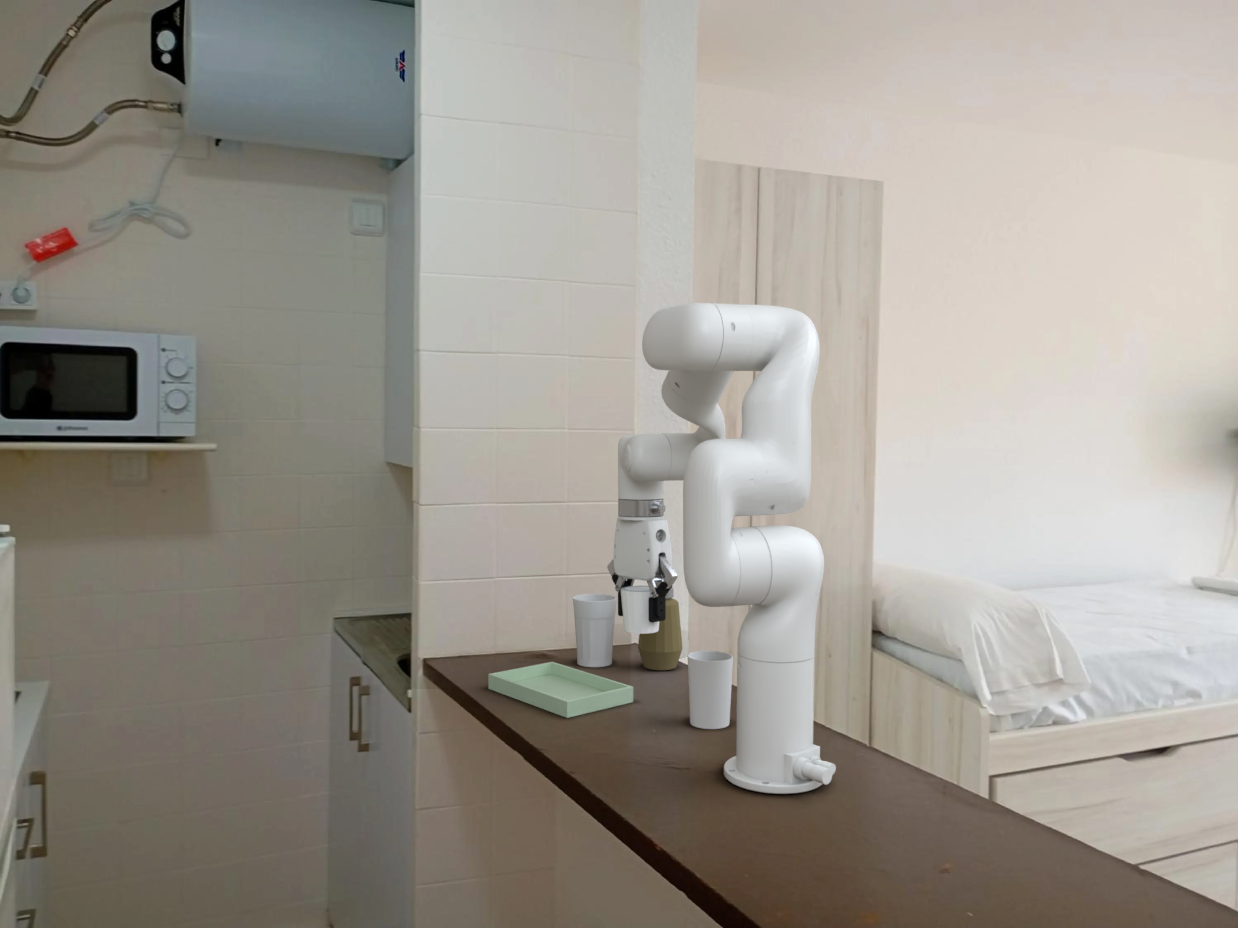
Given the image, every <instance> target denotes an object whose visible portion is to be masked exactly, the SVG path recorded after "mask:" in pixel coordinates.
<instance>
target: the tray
mask: <svg viewBox="0 0 1238 928" xmlns="http://www.w3.org/2000/svg"><path fill="white" fill-rule="evenodd" d="M487 676H488V678H487V680H488V682H487V683H488V690H490V691H493V692H495V693H498V694H501V695H504V696H507V697H510V698H513V699H515V700H517V701H520V702H523V703H526V704H528V705H531V706H534V707H537V708H539V709H542V710H545V711H547V712H550V713H553V714H555V715H557V716H560V717H563V718H567V719H569V718H573V717H577V716H582V715H586V714H590V713H593V712H598V711H603V710H607V709H610V708H614V707H619V706H623V705H627V704H631V703H634V686H633V685H629V684H625V683H622V682H619V681H616V680H614V679H609V678H606V677H603V676H601V675H597V674H593V673H590V672H587V671H584V670H581V669H577V668H574V667H572V666H568V665H564V664H560V663H557V662H555V661H548V662H544V663H537V664H532V665H528V666H523V667H518V668H513V669H507V670H502V671H497V672H492V673H488V674H487Z"/></svg>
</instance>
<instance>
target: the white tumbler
mask: <svg viewBox="0 0 1238 928" xmlns="http://www.w3.org/2000/svg"><path fill="white" fill-rule="evenodd" d="M733 665H734V656H733V655H732V654H731V653H728V652H725V651H719V650H718V651H717V650H699V651H698V650H697V651H692V652H689V653H688V654H687V675H688V676H687V677H688V678H687V679H688V700H689V702H688V703H689V723H690V725H691V726H693V727H695V728H699V729H702V730H703V729H704V730H717V729H718V730H719V729H724V728H727V727H729V725H730V722H731V721H730V720H731V705H732V704H731V701H732V685H733V667H734V666H733Z"/></svg>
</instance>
